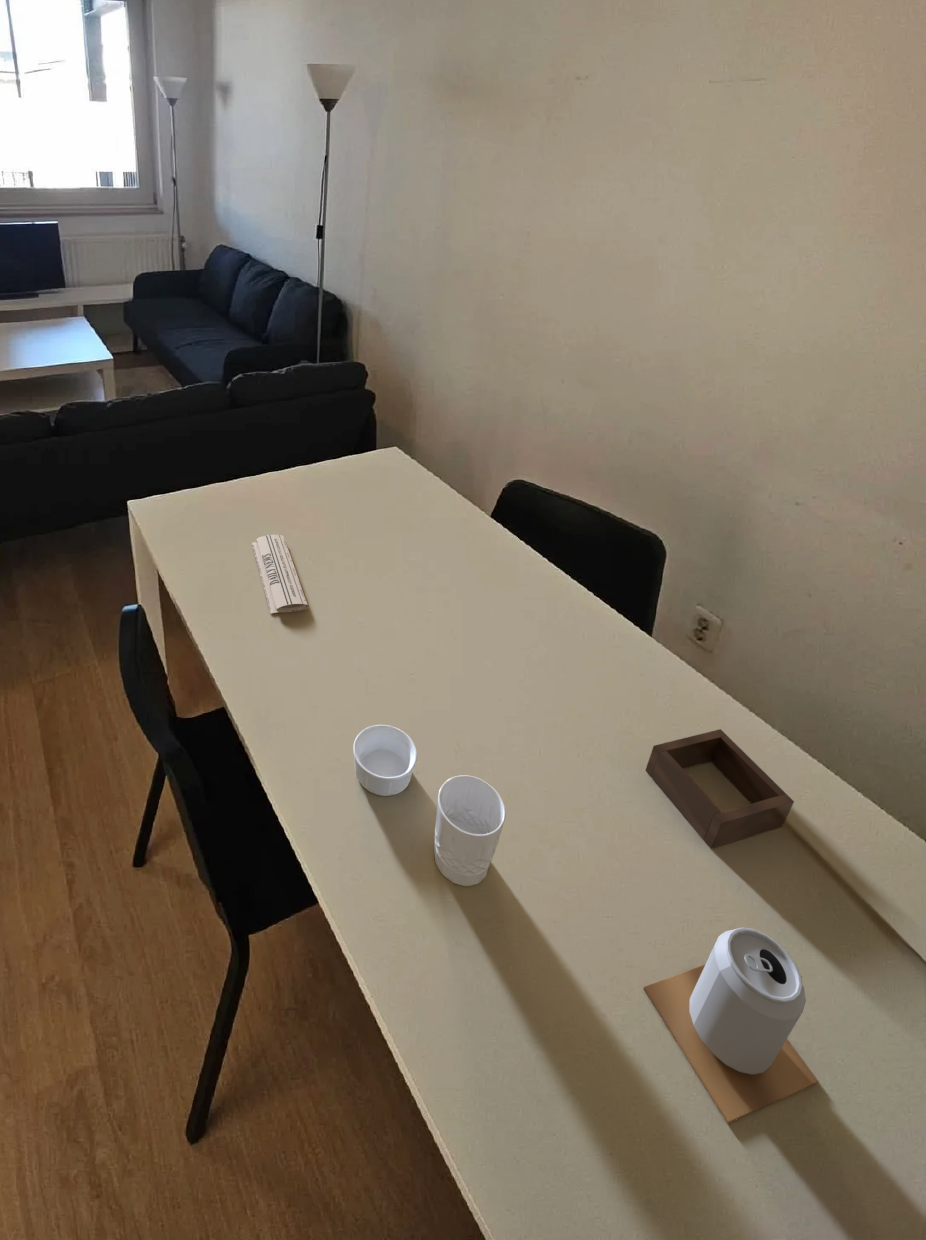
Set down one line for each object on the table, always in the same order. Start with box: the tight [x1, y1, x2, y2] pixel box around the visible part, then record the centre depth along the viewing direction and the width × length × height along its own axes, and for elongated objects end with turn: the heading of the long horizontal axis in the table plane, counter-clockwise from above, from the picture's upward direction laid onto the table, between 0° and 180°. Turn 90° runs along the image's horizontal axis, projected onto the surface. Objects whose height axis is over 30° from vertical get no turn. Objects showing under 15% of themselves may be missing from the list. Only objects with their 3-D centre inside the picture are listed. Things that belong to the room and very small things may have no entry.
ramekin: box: [352, 724, 418, 797], centre depth 93 cm, size 9×9×4 cm
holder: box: [645, 728, 795, 850], centre depth 92 cm, size 12×12×5 cm
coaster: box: [642, 963, 819, 1124], centre depth 68 cm, size 11×11×1 cm
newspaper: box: [251, 534, 309, 615], centre depth 135 cm, size 24×7×2 cm, turn 13°
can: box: [690, 927, 807, 1075], centre depth 65 cm, size 8×8×12 cm
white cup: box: [433, 774, 507, 887], centre depth 81 cm, size 8×8×10 cm
